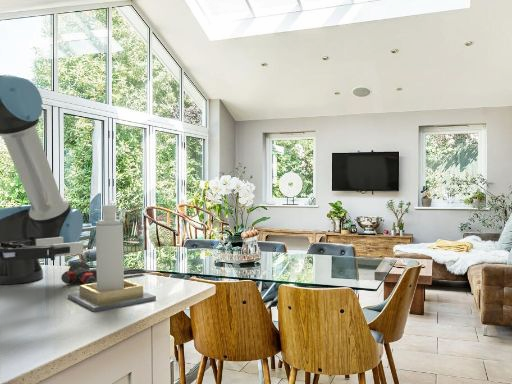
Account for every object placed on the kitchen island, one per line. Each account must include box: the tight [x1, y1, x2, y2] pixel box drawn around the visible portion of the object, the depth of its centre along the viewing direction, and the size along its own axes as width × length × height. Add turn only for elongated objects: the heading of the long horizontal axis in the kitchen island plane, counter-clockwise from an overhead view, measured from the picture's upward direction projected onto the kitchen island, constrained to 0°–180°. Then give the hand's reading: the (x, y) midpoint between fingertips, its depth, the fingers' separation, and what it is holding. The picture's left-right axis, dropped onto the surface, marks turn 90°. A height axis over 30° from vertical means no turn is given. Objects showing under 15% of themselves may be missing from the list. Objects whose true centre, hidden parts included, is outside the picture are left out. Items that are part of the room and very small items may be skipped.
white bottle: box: [95, 204, 125, 292], centre depth 118 cm, size 7×7×25 cm
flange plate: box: [67, 278, 157, 313], centre depth 119 cm, size 18×16×4 cm
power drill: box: [60, 260, 146, 285], centre depth 141 cm, size 6×26×15 cm
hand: (72, 244), depth 112 cm, fingers open, 13 cm apart
